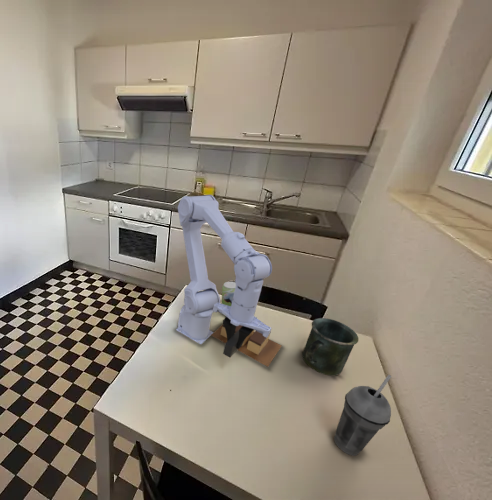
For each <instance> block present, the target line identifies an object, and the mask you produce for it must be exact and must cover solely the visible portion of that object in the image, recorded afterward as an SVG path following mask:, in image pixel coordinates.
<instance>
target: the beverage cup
mask: <svg viewBox="0 0 492 500" xmlns="http://www.w3.org/2000/svg"><path fill="white" fill-rule="evenodd" d="M391 378H392V375H391V374H388V375H387V376H386V378H385V379H384V380H383V381H382V383H381V384H380V386H379V387H378V389H375V388H373V387H371V386H367V385H358V386H354V387H352V388H351V389H350V390H349V391H348V392H347V393H346V394H345V396H344V404H343V408H342V412H341V415H340V418H339V420H338V424H337V426H336V430H335V434H334V437H333V440H334V443H335V444H336V446H337V447H338V448H339V449H340V450H341V451H342V452H344V454H346V455H349V456H353V457H355V456H358V455H359V454H360V452H363V450H364V449H365V448H366V446H367V445H368V444H369V443H370V441H371V440H372V439H373V438H374V437H375V435H377V433H378V432H379V431H380V430H382V429H383V428H385V426H387V425H388V424H389V423H390V422H391V417H392V407H391V405H390V403H389V400H388V399H387V398H386V396H385V395H384V394H383V393H382V391H383V390H384V388H385V387H386V385H387V384H388V382H389V381H390V380H391Z"/></svg>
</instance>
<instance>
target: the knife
mask: <svg viewBox="0 0 492 500" xmlns="http://www.w3.org/2000/svg"><path fill="white" fill-rule="evenodd" d="M255 317H256V318H257V319H258V317H257V316H255ZM238 338H239V330H238V331H237V332H236V333H235V334H234V335H233V336H232V337H231V338H230V339H229V340H228V341H227V342H226V343H224V346H223V347H224V348H223V352H222V354H223V355H224V356H226V357H228V358H229V359H230V358H232V357H233V355H234V354H235V353H236V352H237V351H238V350H237V348H236V346H237V342H238Z"/></svg>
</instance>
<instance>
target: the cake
mask: <svg viewBox="0 0 492 500" xmlns="http://www.w3.org/2000/svg"><path fill="white" fill-rule="evenodd" d="M221 325H222V324H221ZM241 327H242V326H241V325H239V326H236V329H235V333H236V332H237V331H238V330H239V329H240V328H241ZM254 332H255V330H253V331H252V332H251V334H250V335H249V336H247V337H246V339H245V340H244V342H243V344H242V346H244V344H245V343H246V342H247V341H248V340H249V338H250V337H251V336H252V335H253V333H254ZM220 335H222V336H224V337H226V338H227V334H226V330H225V327H224V325H222V330H221V334H220Z"/></svg>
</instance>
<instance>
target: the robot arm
mask: <svg viewBox="0 0 492 500" xmlns="http://www.w3.org/2000/svg"><path fill="white" fill-rule="evenodd" d="M219 203H220V202H218V200H217V199H216V197H215V196H214V195H212V194H206V195H192V196H189V195H184V196H182V197H181V199H180V200H179V203H178V205H177V212H178V219H179V225H180V226H181V228H182V234H183V241H184V246H185V253H186V254H185V255H186V259H187V267H188V272H189V278H190V282H189V283H188V284H187V286H186V287H185V288H184V289H183V292H184V298H183V306H182V307H181V309H180V311H179V315H178V323H177V328H175V330H176V331H177V332H179V333H181V334H182V335H184V336H185V337H187V338H188V339H190V340H192V341H194V342H195V343H197V344H199V345H202V344H203V343H205V342H206V340H208V339H209V338H210V337H212V336H211V335H212V334H213V333H214V331H212V330H211V329H210V327H211V322H212V317H213V313H220V314H221V315H223V316H225V317H224V319H222V324H223V325H224V327H225V330H226V334H227V341H228V340H229V339H230V338H231V337H232V336H233V335H234V334H235V329H236V326H239V325H241V326H242V327H241V328H240V329H239V338H238V342H237V346H236V348H237V349H239V348H240V347H241V346H242V344H243V342H244V340H245V339H246V337H247V336H249V335H250V334H251V332H252V331H253V330H254V331H258V332H260V333H262V334H263V336H264V337H266V338H267V337H268V336H269V334H270V335H271V333H272V332H271V331H272V327H271V326H269V325H267V324H266V323H264V322H263V321H262V320H260V319H259V318H258V317H257V316H256V315H255V313H256V310H257V307H258V303H259V299H260V296H261V292H262V287H263V284H264V279H266V278H268V277H270V276H271V274H272V272H273V265H272V262H271V260H270V259H269V256H267V255H266V254H264V253H260V252H259V251H256V250H255V249H254V248H253V247H252V245H251V244H250V243H249V241H248V240H247V239H246V235H245V234H244V233H241V232H240V231H234V230H233V229H232V227H231V226H230V224H229V223H228V221H227V219H226V218H225V216H223V214H222V211H220V209H219V207H220V204H219ZM206 223H207V225H209V226H210V228H211V229H212V230H213V231H214V233H216V235H217V236H218V237H219V238H220V239H221V242H220V247H221V248H222V249H223V251H224V252H225V253H226V255H227V256H228V257H229V259H230V260H231V262H232V263H233V264H234V266H233V271H234V275H235V280H234V282H236V287H235V291H234V296H233V300H232V305H231V306H227V305H224V304H222V302H221V296H220V294H219V292H218V290H217V285H216V283H214V282H213V281H211V280H210V279H209V276H208V275H209V274H208V269H207V263H206V256H205V250H204V244H203V238H202V237H203V236H202V231H201V229H202V227H203V225H205V224H206ZM256 317H257V318H256ZM270 332H271V333H270ZM269 337H270V336H269Z"/></svg>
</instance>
